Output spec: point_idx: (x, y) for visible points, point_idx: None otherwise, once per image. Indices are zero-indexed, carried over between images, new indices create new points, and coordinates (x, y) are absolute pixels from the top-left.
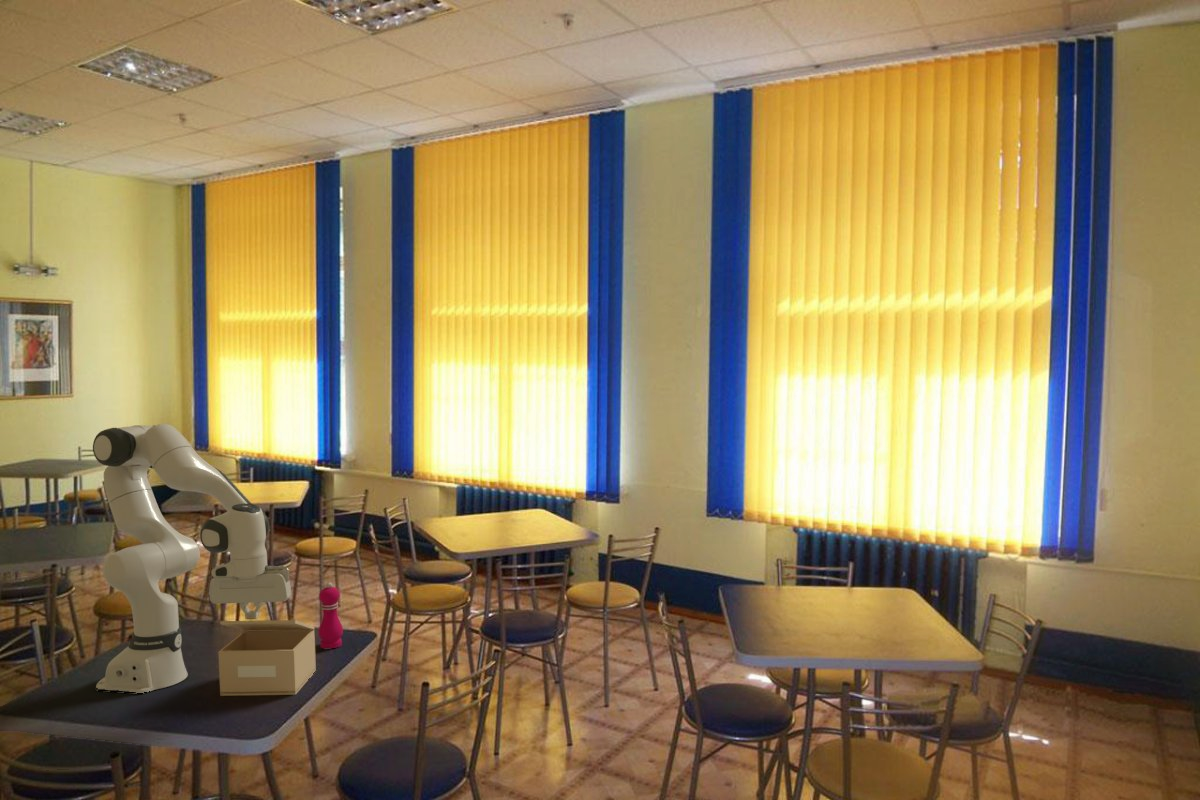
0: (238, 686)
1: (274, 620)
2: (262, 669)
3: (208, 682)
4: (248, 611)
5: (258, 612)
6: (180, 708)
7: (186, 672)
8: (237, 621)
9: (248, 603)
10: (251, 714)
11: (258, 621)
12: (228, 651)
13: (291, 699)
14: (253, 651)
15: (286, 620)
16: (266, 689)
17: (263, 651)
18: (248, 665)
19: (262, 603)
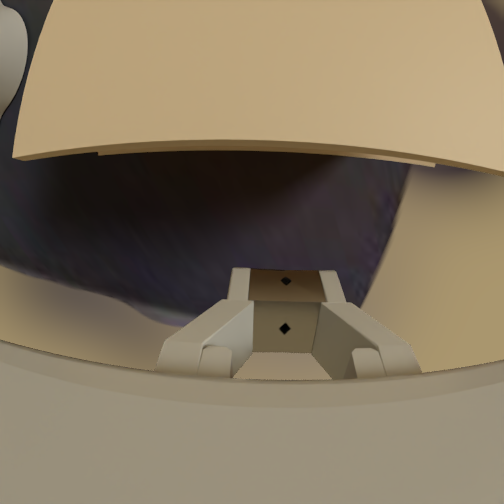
0: None
1: (413, 153)
2: None
3: None
4: (251, 330)
5: (341, 294)
6: (101, 202)
7: (19, 28)
8: (112, 146)
9: (230, 355)
10: (292, 241)
11: (285, 143)
12: (139, 152)
13: (369, 163)
14: (257, 150)
15: (482, 166)
16: None
17: (305, 152)
18: None
19: (411, 350)
